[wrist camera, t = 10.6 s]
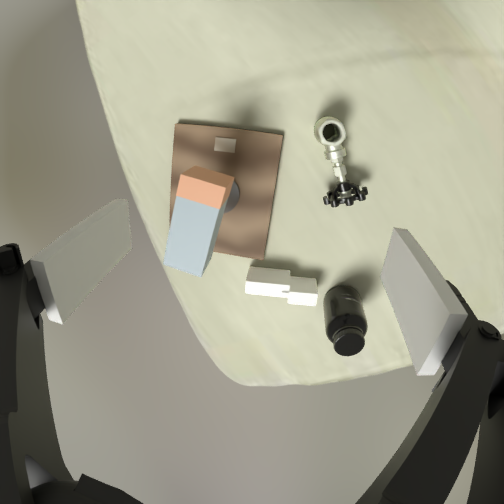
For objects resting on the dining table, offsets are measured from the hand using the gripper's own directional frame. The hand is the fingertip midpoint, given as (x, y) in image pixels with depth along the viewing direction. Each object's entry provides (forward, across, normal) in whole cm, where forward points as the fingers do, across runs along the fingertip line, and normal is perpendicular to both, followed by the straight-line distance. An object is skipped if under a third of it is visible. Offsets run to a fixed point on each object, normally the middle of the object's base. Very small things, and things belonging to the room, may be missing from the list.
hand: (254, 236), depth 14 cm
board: (+32, -8, -8) cm, 34 cm away
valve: (+33, +8, 0) cm, 34 cm away
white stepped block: (+33, +3, -22) cm, 40 cm away
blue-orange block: (+23, -8, -7) cm, 25 cm away
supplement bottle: (+32, +14, -25) cm, 43 cm away
